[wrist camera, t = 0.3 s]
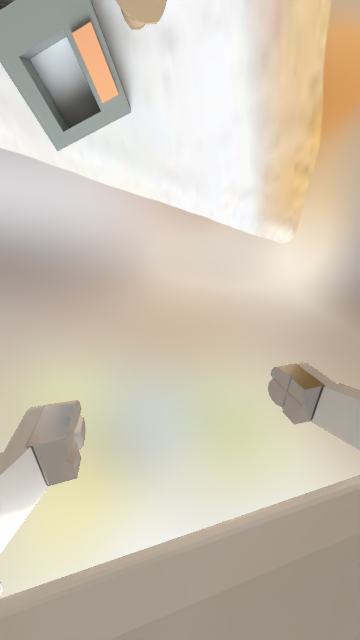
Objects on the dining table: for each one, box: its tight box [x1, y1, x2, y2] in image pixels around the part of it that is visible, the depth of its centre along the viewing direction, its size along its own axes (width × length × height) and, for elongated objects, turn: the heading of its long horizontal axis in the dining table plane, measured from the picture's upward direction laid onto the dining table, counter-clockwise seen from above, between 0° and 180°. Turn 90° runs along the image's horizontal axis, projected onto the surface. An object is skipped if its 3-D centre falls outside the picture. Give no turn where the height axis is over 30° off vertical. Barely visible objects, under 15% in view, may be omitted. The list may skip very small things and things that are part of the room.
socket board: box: [0, 0, 131, 151], centre depth 28 cm, size 24×15×6 cm, turn 18°
